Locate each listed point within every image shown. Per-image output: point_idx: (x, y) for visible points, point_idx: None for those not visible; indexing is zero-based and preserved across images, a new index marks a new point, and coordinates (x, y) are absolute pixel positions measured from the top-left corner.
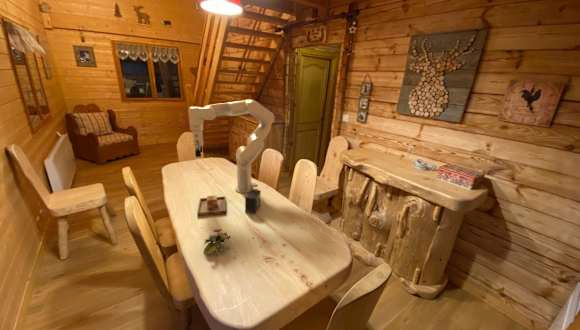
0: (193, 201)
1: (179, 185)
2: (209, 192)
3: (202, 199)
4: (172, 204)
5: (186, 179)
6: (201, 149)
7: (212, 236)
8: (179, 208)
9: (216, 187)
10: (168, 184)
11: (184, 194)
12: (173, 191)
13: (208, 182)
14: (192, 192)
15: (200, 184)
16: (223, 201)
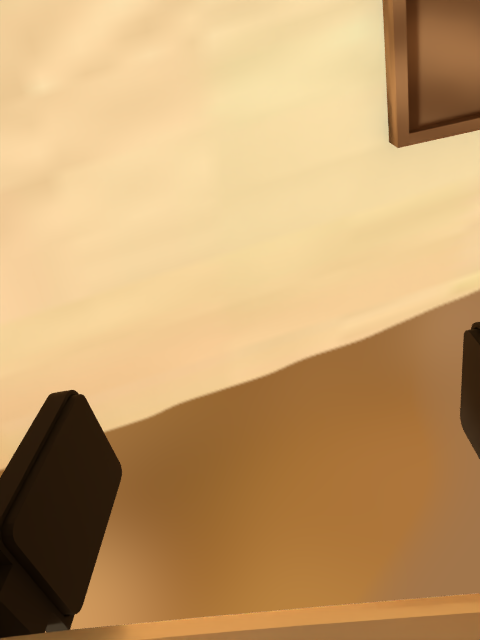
0: (378, 197)
1: (132, 363)
2: (220, 110)
3: (406, 121)
4: (403, 314)
5: (27, 354)
6: (61, 454)
7: None
8: (468, 257)
9: (109, 68)
10: (130, 422)
11: (264, 292)
12: (224, 367)
13: (25, 179)
14: (230, 250)
15: (82, 234)
16: None
